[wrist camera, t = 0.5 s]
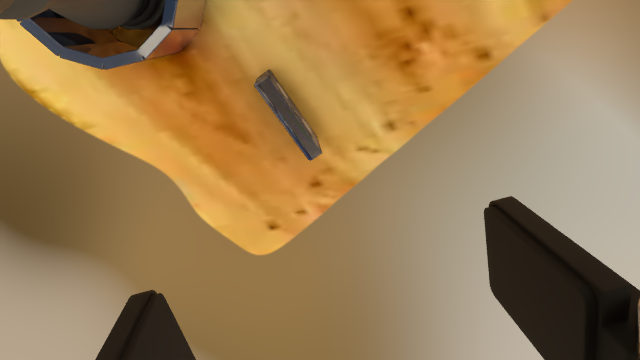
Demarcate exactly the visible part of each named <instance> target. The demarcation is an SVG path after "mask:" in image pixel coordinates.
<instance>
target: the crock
mask: <svg viewBox="0 0 640 360" xmlns="http://www.w3.org/2000/svg"><path fill="white" fill-rule="evenodd" d="M205 4H206V0H165V6H164V12H163V18H162V23H161V24H160V25H159V26H158V27H157V28H156V30H155V31H154V32H153V33H152V34H151V35H150V36H149V37H148V38H147V40H146V41H145V42H144V43H143V44H142V45H141V46H140V47H135V46H132V45H129V44H125V43H122V42H119V41H118V40H117V39H116V38H115V37H114V36H113V35H111V34H110V33H109V32H108V31H107V30H106V29H90V28H88V27H85V26H83V25H80V24H78V23H75V22H73V21H71V20H69V19H67V18H65V17H63V16H62V15H60V14H58V13H56V12H54V11H52V10H50V9H48V10H46V11H44V12H42V13H39V14H37V15H35V16H33V17H31V18H29V19H17V21H18V22H21V23H20V25H21V26H22V27H24V28H25V29H26V30H27V31H28V32H30V33H31V34H32V35H33V36H34V37H35V38H37V39H38V40H39V41H40V42H41V43H42V44H44V45H45V46H46V47H47V48H48V49H49V50H51V51H52V52H53V53H54V54H55V55H56V56H60V58H63V59H66V60H70V61H73V62H77V63H80V64H84V65H87V66H91V67H95V68H98V69H102V70H103V69H105V70H107V69H111V68H116V67H120V66H124V65H128V64H132V63H136V62H141V61H145V60H149V59H153V58H157V57H161V56H165V55H170V54H174V53H178V52H179V51H181V50H182V49H183V48H184V47H185V46H186V45H187V44H188V42H189V41H190V40H191V39H192V38H193V37H194V36H195V35H196V34H197V33H198V32H199V31H200V29H199V28H201V25H202V20H203V15H204V10H205Z"/></svg>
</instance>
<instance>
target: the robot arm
mask: <svg viewBox="0 0 640 360" xmlns="http://www.w3.org/2000/svg"><path fill="white" fill-rule="evenodd" d="M484 219H485V231H486V244H487V256H488V268H489V280H490V287H491V290H492V292H493V294H494V296H495V297H496V299H497V300H498V301H499V302H500V304H501V305H502V306H503V307H504V309H505V310H506V311H507V313H508V314H509V315H510V316H511V318H512V319H513V320H514V322H515V323H516V324H517V325H518V326H519V328H520V329H521V330H522V332H523V333H524V334H525V335H526V337H527V338H528V339H529V341H530V342H531V343H532V344H533V346H534V347H535V348H536V349H537V351H538V352H539V353H540V355H541V356H542V357H543V358H544V360H640V291H639V290H638V289H637V288H636V287H634V286H633V285H632V284H630V283H629V282H628V281H626V280H625V279H623V278H622V277H621V276H619V275H618V274H617V273H615V272H614V271H613V270H611V269H610V268H609V267H607V266H606V265H604V264H603V263H602V262H601V261H599V260H598V259H596V258H595V257H594V256H592V255H591V254H590V253H588V252H587V251H586V250H584V249H583V248H582V247H580V246H579V245H577V244H576V243H575V242H573V241H572V240H571V239H569V238H568V237H567V236H565V235H564V234H563V233H561V232H560V231H558V230H557V229H556V228H554V227H553V226H552V225H550V224H549V223H548V222H546V221H545V220H544V219H542V218H541V217H540V216H538V215H537V214H536V213H534V212H533V211H532V210H530V209H529V208H527V207H526V206H525V205H523V204H522V203H521V202H519V201H518V200H517V199H515V198H514V197H512V196H511V197H506V198H502V199H499V200H495V201H491V202H490V204H489V207H488V208H485V210H484ZM96 360H196V359H195V357H194V355H193V353H192V351H191V349H190V347H189V345H188V343H187V341H186V339H185V337H184V335H183V333H182V331H181V329H180V327H179V325H178V323H177V321H176V319H175V317H174V315H173V313H172V311H171V309H170V307H169V305H168V303H167V301H166V299H165V297H164V296H163V295H162V294H161V293H159V294H157V293H156V292H155V291H154V290H150V291H146V292H142V293H139V294H135V295H132V296H131V297H130V298H129V299H128V302H127V303H126V305H125V307H124V309H123V310H122V312H121V314H120V316H119V318H118V319H117V321H116V323H115V325H114V327H113V329H112V330H111V332H110V334H109V336H108V338H107V339H106V341H105V343H104V345H103V347H102V349H101V350H100V352H99V354H98V356H97V358H96Z"/></svg>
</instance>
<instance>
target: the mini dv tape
mask: <svg viewBox="0 0 640 360" xmlns="http://www.w3.org/2000/svg"><path fill="white" fill-rule="evenodd" d="M254 86H255V88H256V89H257V90H258V92H259V93H260V95H261V96H262V97H263V99H264V100H265V101H266V103H267V104H268V105H269V107H270V108H271V110H272V111H273V112H274V114H275V115H276V116H277V118H278V119H279V120H280V122H281V123H282V125H283V126H284V127H285V129H286V130H287V131H288V133H289V134H290V135H291V137H292V138H293V140H294V141H295V142H296V144H297V145H298V146H299V148H300V149H301V150H302V152H303V153H304V155H305V156H306V157H307V159H308V160H310V161H311V160H313V159H314V158H316V157H317V156H319V155H320V154H322V151H321V148H320V145H319V142H318V139H317V136H316V134H315V133H314V132H313V130H312V129H311V127H310V126H309V125H308V123H307V122H306V120H305V119H304V117H303V116H302V115H301V113H300V112H299V110H298V109H297V107H296V106H295V105H294V103H293V102H292V100H291V99H290V97H289V96H288V95H287V93H286V92H285V90H284V89H283V88H282V86H281V85H280V83H279V82H278V80H277V79H276V78H275V76H274V75H273V73H272V72H271V70H270V69H269V70H268V71H267V72H265V73H264V74H262V75H261V76H260V77H258V78H257V80H256V82H255V84H254Z"/></svg>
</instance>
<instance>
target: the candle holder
mask: <svg viewBox="0 0 640 360" xmlns="http://www.w3.org/2000/svg"><path fill="white" fill-rule="evenodd" d="M164 6H165V0H0V19H29V18H31V17H33V16H35V15H37V14H39V13H42V12H44V11H46V10H48V9H50V10H52V11H54V12H56V13H58V14H60V15H62V16H63V17H65V18H67V19H69V20H71V21H73V22H75V23H78V24H80V25H83V26H85V27H88V28H90V29H115V28H117V27H119V26H120V27H123V28H125V29H155V28H157V27H158V26H159V25H160V24H161V23H162V18H163V12H164Z"/></svg>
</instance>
